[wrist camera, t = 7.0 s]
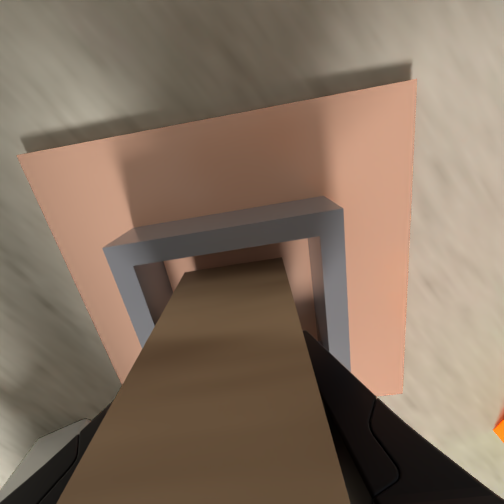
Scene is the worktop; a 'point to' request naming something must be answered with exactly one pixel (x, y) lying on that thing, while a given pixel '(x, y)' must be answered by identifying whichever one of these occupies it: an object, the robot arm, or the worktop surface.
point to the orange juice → (500, 430)
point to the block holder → (247, 218)
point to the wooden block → (217, 404)
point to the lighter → (41, 455)
